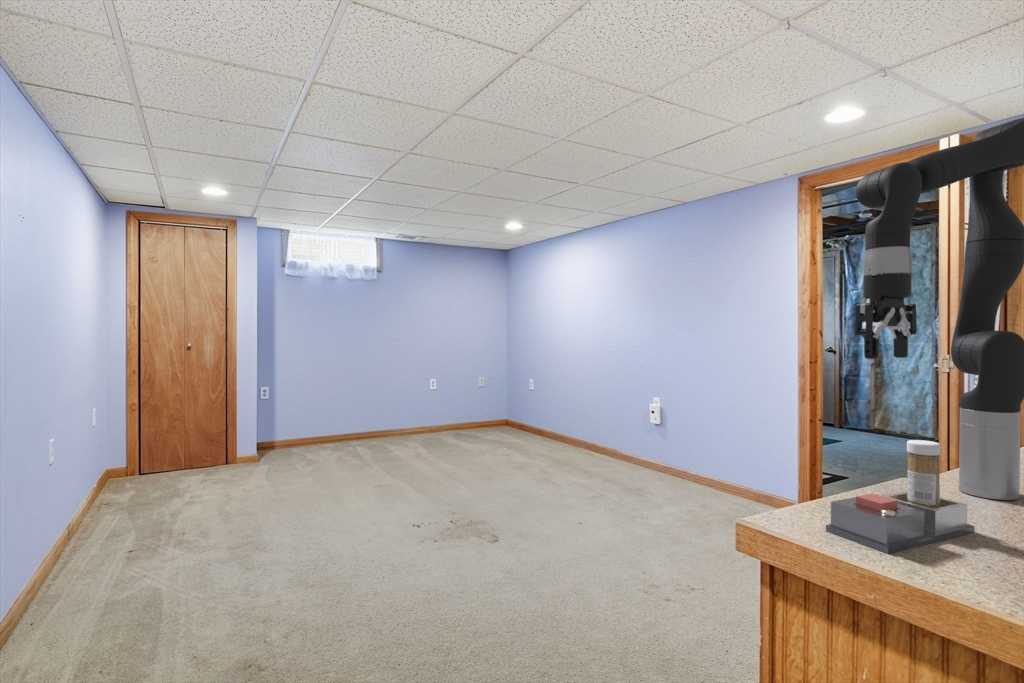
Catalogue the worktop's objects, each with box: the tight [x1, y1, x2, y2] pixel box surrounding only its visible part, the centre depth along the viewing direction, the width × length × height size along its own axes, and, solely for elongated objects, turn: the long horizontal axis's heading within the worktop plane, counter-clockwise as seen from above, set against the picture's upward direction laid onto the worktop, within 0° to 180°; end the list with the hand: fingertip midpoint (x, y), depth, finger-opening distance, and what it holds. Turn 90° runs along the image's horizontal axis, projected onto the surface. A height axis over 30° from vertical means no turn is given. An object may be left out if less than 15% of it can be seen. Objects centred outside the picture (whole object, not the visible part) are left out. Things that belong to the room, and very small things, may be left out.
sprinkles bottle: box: [906, 439, 941, 509], centre depth 91 cm, size 5×5×14 cm
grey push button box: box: [825, 490, 976, 554], centre depth 89 cm, size 22×10×6 cm, turn 113°
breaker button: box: [855, 493, 897, 512], centre depth 86 cm, size 4×4×5 cm
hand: (886, 358), depth 102 cm, fingers open, 8 cm apart
